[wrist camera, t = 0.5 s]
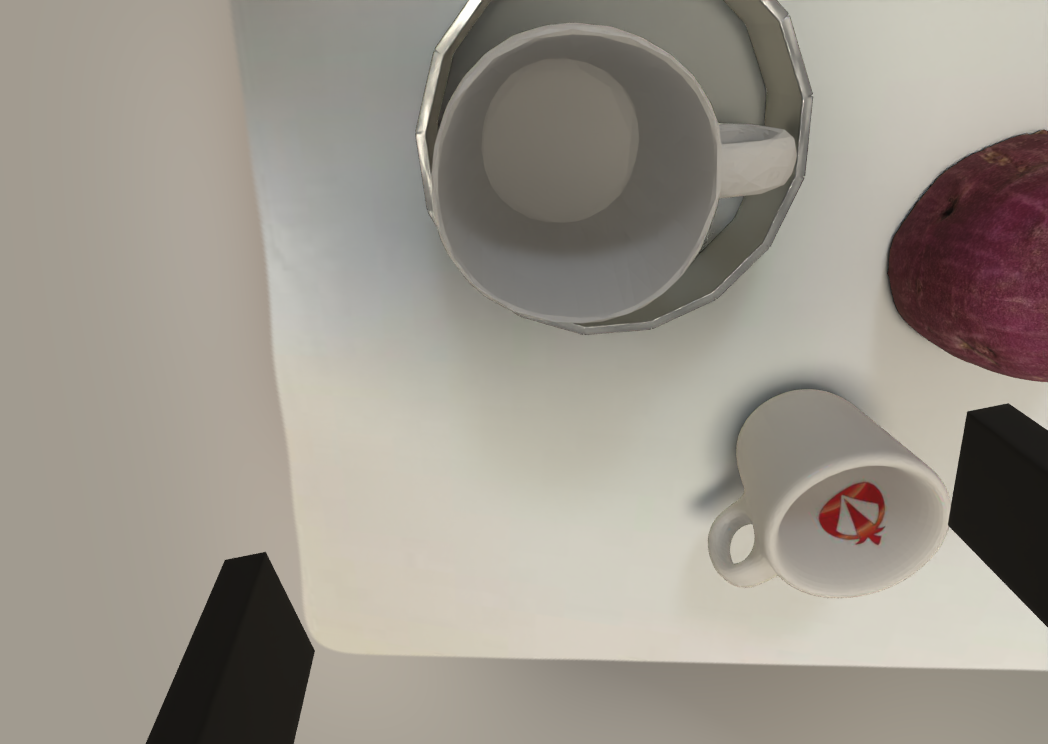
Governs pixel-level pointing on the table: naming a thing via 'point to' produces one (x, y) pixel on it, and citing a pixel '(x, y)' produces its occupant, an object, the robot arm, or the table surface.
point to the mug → (587, 172)
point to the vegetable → (981, 259)
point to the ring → (756, 212)
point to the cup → (828, 501)
